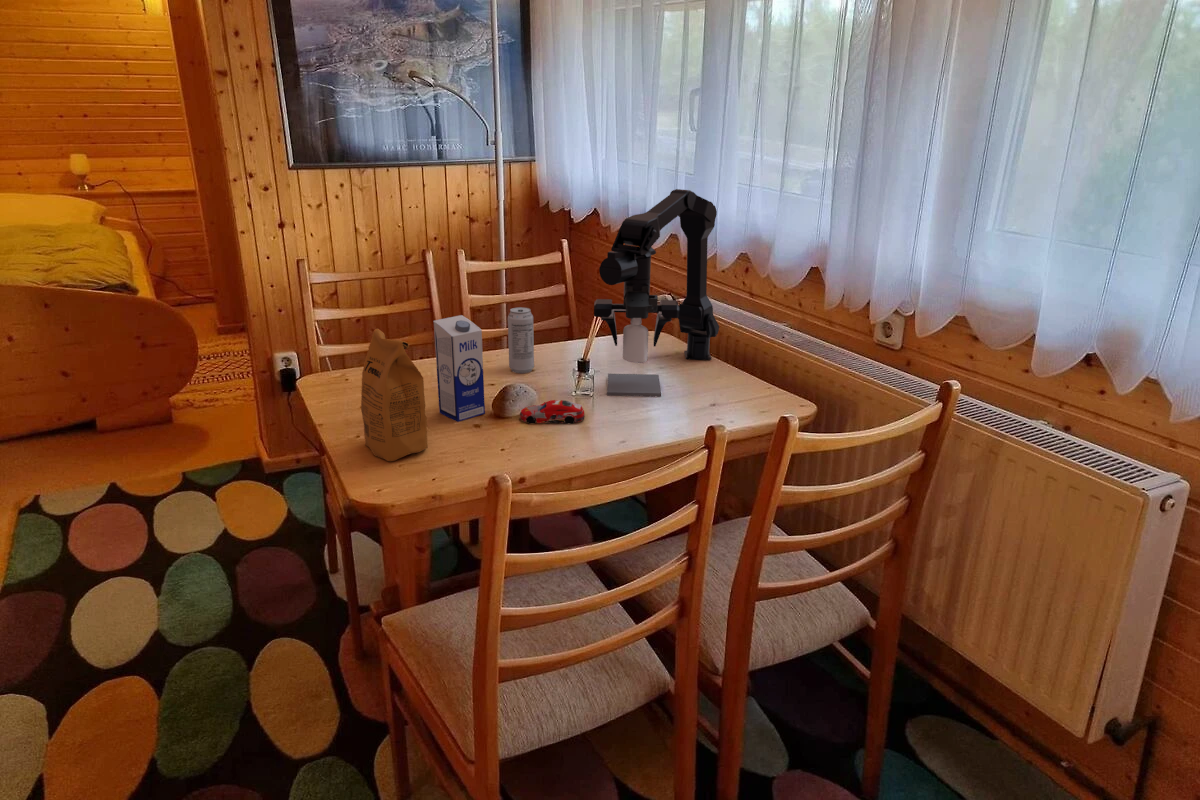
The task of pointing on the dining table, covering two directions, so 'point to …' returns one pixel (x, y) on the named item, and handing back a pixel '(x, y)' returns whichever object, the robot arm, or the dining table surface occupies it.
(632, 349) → the white bottle
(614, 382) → the charcoal pad
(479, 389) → the milk carton
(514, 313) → the energy drink can
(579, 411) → the race car
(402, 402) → the coffee package
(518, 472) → the dining table surface
